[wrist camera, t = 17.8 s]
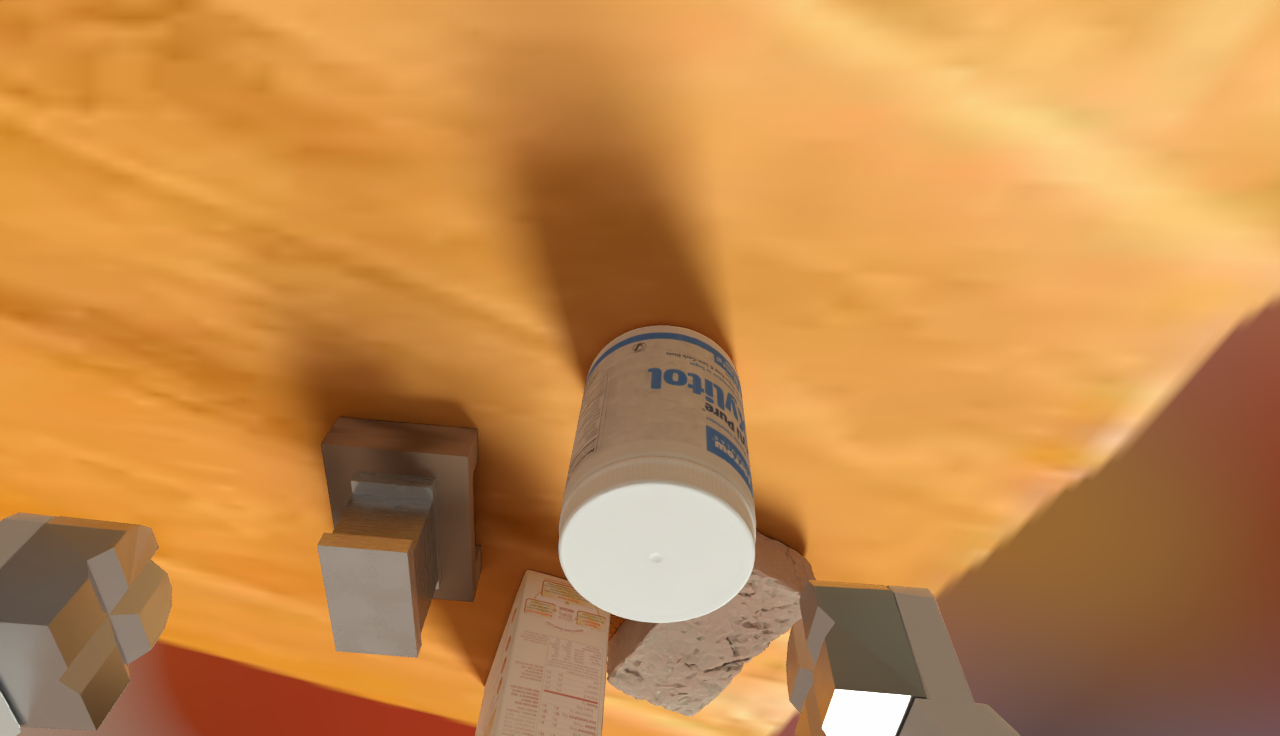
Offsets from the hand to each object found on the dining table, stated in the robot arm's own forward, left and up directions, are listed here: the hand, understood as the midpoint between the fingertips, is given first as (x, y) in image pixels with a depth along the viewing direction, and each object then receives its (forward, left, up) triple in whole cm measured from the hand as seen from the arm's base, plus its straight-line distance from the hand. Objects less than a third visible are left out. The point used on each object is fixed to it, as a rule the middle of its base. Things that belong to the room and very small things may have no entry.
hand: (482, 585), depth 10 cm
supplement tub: (+4, -19, -34) cm, 39 cm away
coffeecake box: (-3, -44, -34) cm, 56 cm away
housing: (-12, -30, -31) cm, 45 cm away
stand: (-12, -30, -34) cm, 47 cm away
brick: (+9, -38, -35) cm, 52 cm away
